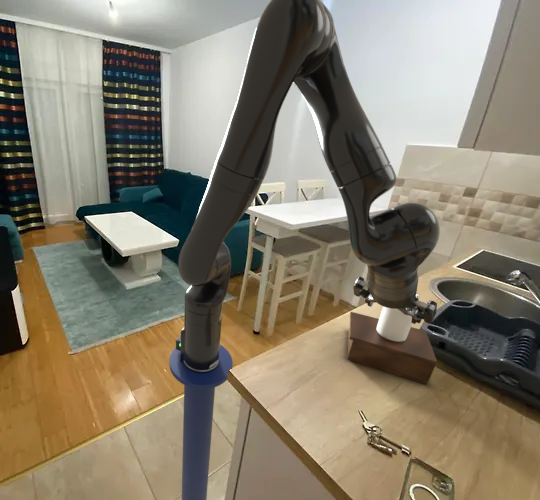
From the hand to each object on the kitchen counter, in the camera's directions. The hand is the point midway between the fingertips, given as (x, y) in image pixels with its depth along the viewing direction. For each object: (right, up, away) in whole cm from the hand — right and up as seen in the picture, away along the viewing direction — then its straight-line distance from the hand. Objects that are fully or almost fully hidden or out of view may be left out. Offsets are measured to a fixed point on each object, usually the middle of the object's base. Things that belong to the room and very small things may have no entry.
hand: (392, 310), depth 65 cm
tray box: (+5, -14, +11) cm, 19 cm away
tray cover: (+5, -8, +9) cm, 13 cm away
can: (+5, -8, +8) cm, 13 cm away
